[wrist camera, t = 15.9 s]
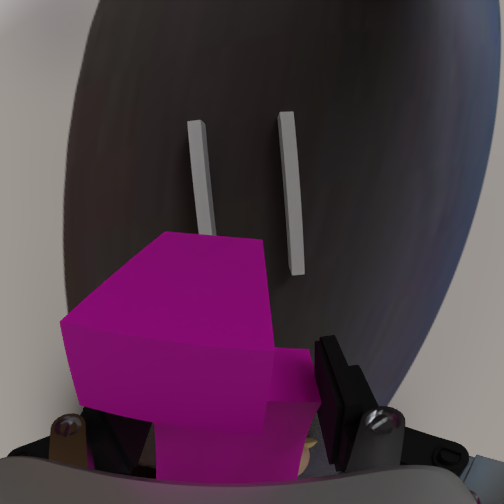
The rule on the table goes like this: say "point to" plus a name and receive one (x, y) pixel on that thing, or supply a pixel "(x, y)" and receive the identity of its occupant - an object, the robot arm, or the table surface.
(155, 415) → the toy block
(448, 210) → the table surface
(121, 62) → the table surface
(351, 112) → the table surface
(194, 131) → the guide channel
